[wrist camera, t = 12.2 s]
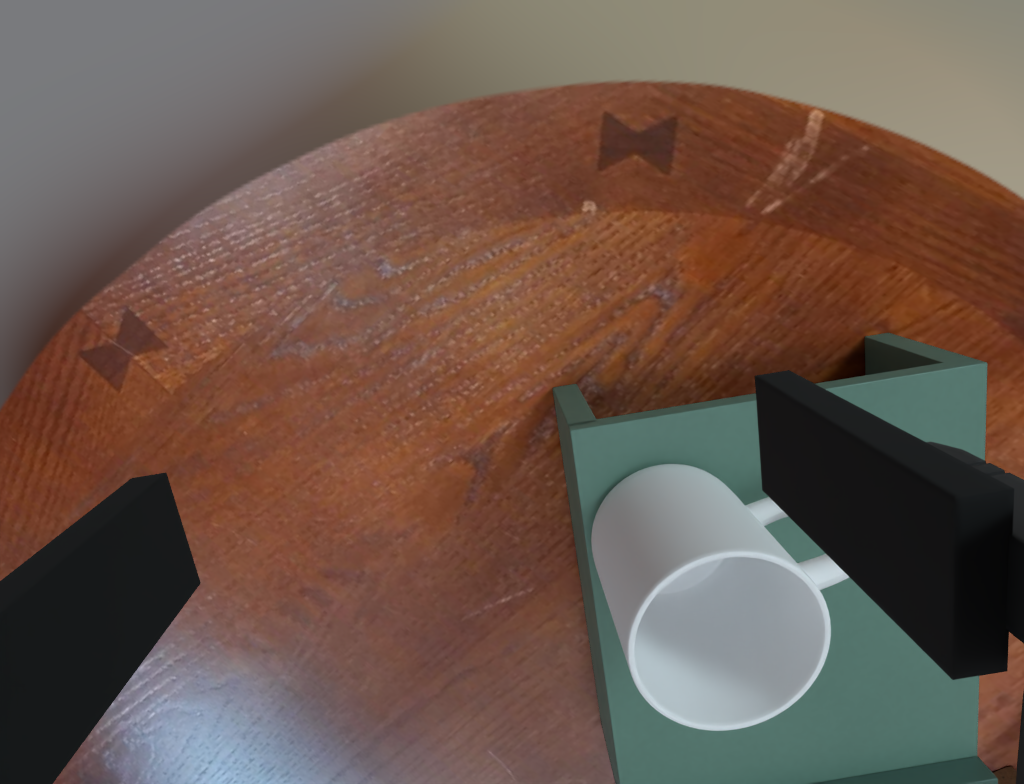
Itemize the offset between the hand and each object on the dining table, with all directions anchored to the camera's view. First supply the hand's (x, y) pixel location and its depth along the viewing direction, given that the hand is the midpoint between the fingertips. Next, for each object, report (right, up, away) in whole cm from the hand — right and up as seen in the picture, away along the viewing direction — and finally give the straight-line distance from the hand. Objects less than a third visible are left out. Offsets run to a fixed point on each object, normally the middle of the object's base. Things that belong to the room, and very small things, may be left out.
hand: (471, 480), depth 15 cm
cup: (+11, -5, +22) cm, 25 cm away
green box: (+16, -8, +33) cm, 37 cm away
